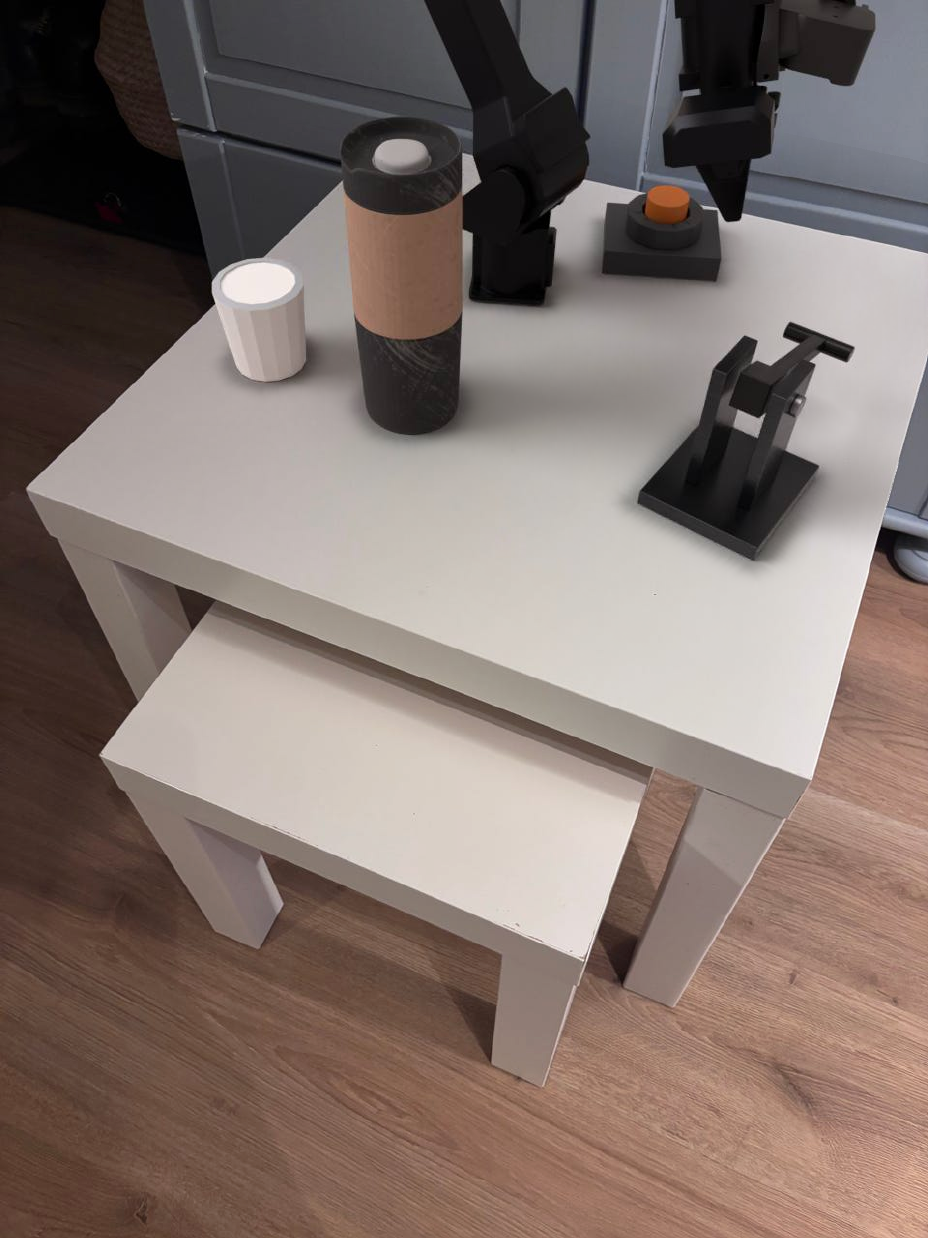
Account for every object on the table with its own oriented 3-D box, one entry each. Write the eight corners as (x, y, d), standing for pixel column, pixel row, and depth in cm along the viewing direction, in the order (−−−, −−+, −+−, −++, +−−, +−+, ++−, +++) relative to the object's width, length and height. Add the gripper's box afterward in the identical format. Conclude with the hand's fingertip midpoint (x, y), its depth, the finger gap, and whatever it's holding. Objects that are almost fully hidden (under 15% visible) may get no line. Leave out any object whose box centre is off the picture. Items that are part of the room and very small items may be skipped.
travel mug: (475, 384, 77) (481, 126, 61) (442, 447, 72) (439, 185, 57) (384, 363, 78) (367, 106, 62) (346, 423, 74) (317, 163, 58)
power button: (644, 224, 85) (647, 205, 83) (644, 202, 87) (647, 183, 86) (686, 227, 84) (690, 208, 83) (685, 205, 87) (689, 186, 85)
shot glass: (329, 346, 80) (320, 269, 74) (285, 396, 76) (272, 318, 70) (257, 324, 81) (243, 247, 76) (210, 372, 77) (192, 294, 72)
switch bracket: (703, 427, 74) (736, 302, 65) (815, 477, 71) (864, 353, 62) (636, 503, 69) (662, 378, 60) (752, 561, 66) (797, 438, 57)
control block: (601, 273, 86) (607, 231, 83) (604, 224, 91) (609, 182, 88) (716, 281, 86) (726, 239, 83) (712, 231, 91) (721, 190, 87)
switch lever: (783, 342, 73) (795, 311, 72) (846, 368, 71) (860, 337, 70) (708, 397, 63) (720, 362, 62) (779, 428, 62) (793, 393, 60)
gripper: (873, -24, 50) (855, 271, 60) (871, -99, 62) (857, 155, 72) (652, 14, 53) (671, 284, 64) (692, -65, 66) (703, 172, 76)
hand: (733, 219), depth 69 cm, fingers closed
